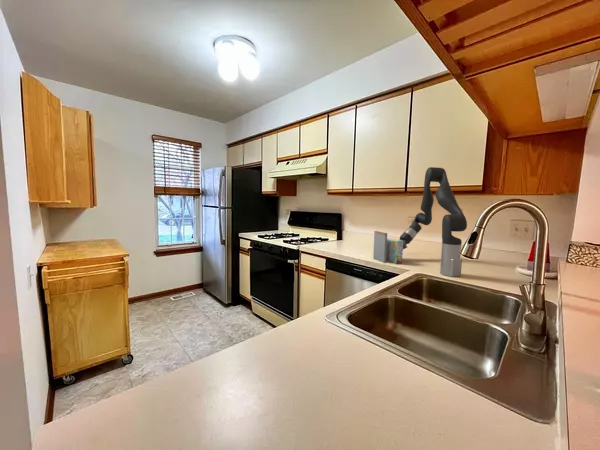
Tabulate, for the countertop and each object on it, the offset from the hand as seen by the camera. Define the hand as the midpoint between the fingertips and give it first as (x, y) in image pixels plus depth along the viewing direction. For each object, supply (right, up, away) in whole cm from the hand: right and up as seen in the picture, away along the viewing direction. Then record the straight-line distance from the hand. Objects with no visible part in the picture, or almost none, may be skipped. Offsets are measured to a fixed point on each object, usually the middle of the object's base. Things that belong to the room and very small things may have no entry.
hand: (392, 253), depth 178 cm
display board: (-10, -4, -2) cm, 11 cm away
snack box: (-3, -5, -1) cm, 6 cm away
